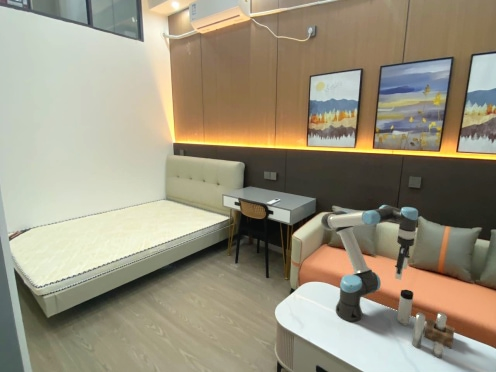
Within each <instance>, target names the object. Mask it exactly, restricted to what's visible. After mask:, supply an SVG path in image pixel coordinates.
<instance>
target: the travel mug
mask: <svg viewBox="0 0 496 372" xmlns="http://www.w3.org/2000/svg"><path fill="white" fill-rule="evenodd" d="M413 301H414V292H413V291H412V290H409V289H401V290H400V295H399V302H398V310H397V317H396V321H397V322H398V323H399V324H401V325H403V326H408V325H409V324H410V321H411V315H412V314H411V313H412V309H413V307H412V306H413Z"/></svg>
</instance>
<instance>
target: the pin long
mask: <svg viewBox="0 0 496 372" xmlns="http://www.w3.org/2000/svg"><path fill="white" fill-rule="evenodd" d="M414 319H415V320H414V327H413V334H412V339H411V346H412V347H414V348H416V349H421V348H422V341H423V337H424V331H425V323H426V315H425V314H424V313H422V312H416V313H415V318H414Z"/></svg>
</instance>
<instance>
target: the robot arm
mask: <svg viewBox="0 0 496 372" xmlns="http://www.w3.org/2000/svg"><path fill="white" fill-rule="evenodd" d="M418 219H419V211H418V209H417V208H415V207H410V206H404V207H401V209H400V208H397V207H394V206H391V205H387V204H383V205H381V206H380V207H379V208H377V209H371V210H363V211H358V212H357V211H355V212H350V211H347V210H337V211H333V212H328V213H325V214H324V215H322V217H321V221H320V222H321V226H322V228H323V229H324V230H327V231H335V233H336V234H337V235H339V236H340V238H341V241H342V245H343V247H344V248H345V251H346V255H347V256H348V259H349V262H350V265H351V266H352V267H351V268H353V273H352V274H346V275H344V276H342V278H341V280H340V284H339V286H340V288H339V289H340V290H339V298H338V299H339V300H338V302H337V304H336V305H335V313H336V315H337V316H338V317H339V318H340V319H342V320H344V321H346V322H351V323H354V322H355V323H356V322H359V321H360V320H362V316H363V311H362V307H361V298H363V297H365V296H368V295H371V294H374V293H376V292H377V291H379V290H380V289H381V285H382V284H381V279H380V276H379V275H378V274H377V273H376V272H374V271H373V270H372V268H370V267H369V266H368V265H367V263H366V260H365V257H364V255H363V253H362V250H361V248H360V245H359V244H358V241H357V238H356V235H355V234H354V232H353V231H354V227H356V226H358V227H359V226H376V225H378V224H382V223H387V222H393V223H396V224H399V225H398V230H397V231H398V233H397V240H396V242H397V244H398V245H400V246H399V251H398V256H397V261H396V265H394V267H395V276H394V278H395V279H397V280H399V281H401V280H402V275H403V270H407V269H408V262H409V261H408V260H409V259H410V257H411V255H410V247H414V245H415V237H416V235H417V234H418V233H417V232H416V231H417V223H418Z"/></svg>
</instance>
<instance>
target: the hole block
mask: <svg viewBox="0 0 496 372" xmlns="http://www.w3.org/2000/svg"><path fill="white" fill-rule="evenodd" d="M425 323H426V324H425V326H424V331H423V338H424V339H427V340H430V341H432V342H433V343H434V342H435V341H437V342H440V343H442V344H443V345H444V347H446V348H448V349H450V350H451V349H452V346H453V341H454V335H455V329H456V328H455V327H452V326H451V325H448V324H446V325H445V330H444V332H442V331H439V330H437V329H435V326H436V320H435V319H432V318H429V317H427V320H426V322H425Z"/></svg>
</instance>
